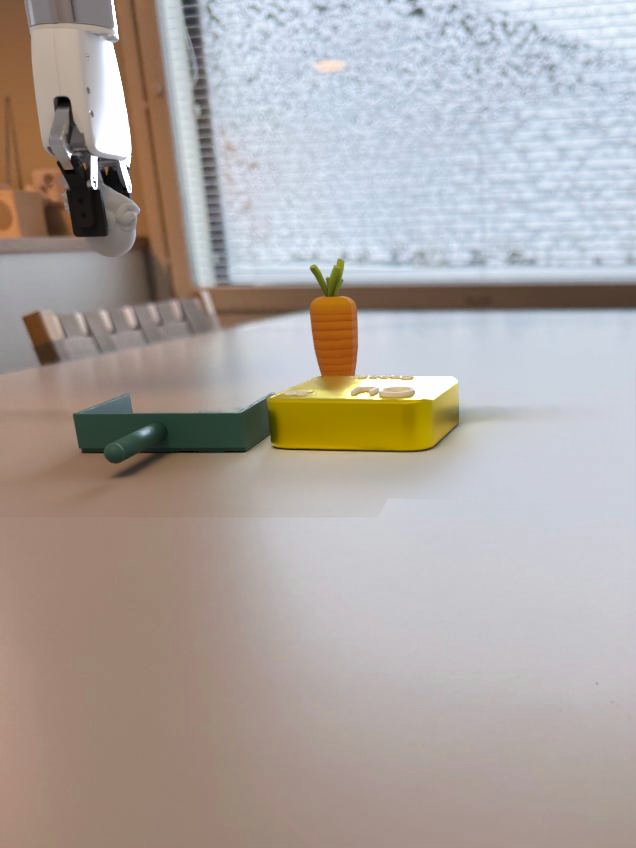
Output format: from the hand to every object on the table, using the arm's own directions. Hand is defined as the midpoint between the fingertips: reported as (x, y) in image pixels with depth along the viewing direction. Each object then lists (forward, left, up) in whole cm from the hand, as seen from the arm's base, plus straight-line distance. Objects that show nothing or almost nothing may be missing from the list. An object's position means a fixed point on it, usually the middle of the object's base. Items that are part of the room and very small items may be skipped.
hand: (106, 234), depth 93 cm
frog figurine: (0, 0, -2) cm, 2 cm away
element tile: (+26, -9, -18) cm, 33 cm away
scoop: (+9, -16, -18) cm, 26 cm away
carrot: (+20, +7, -18) cm, 28 cm away
